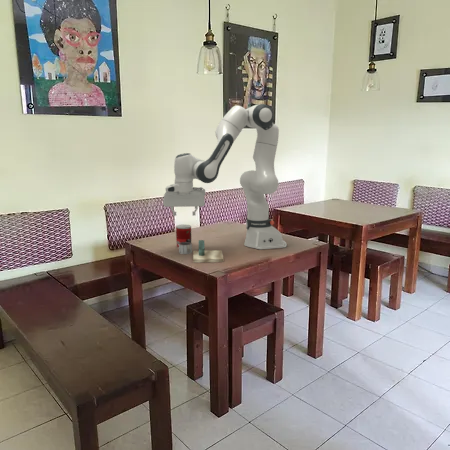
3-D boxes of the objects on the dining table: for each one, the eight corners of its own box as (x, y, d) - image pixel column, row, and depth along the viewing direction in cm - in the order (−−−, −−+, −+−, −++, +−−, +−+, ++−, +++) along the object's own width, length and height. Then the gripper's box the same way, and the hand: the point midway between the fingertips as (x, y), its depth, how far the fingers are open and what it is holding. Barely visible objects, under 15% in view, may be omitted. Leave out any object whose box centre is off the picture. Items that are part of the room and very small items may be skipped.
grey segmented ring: (191, 250, 212) (191, 241, 211) (191, 253, 206) (191, 245, 205) (179, 250, 212) (179, 242, 211) (178, 254, 206) (178, 245, 205)
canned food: (189, 248, 215) (188, 228, 213) (174, 247, 217) (173, 227, 214) (193, 244, 222) (192, 224, 220) (179, 244, 224) (178, 224, 222)
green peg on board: (221, 253, 207) (221, 236, 205) (223, 261, 194) (223, 244, 192) (193, 253, 206) (193, 237, 204) (193, 262, 193) (192, 244, 191)
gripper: (205, 186, 205) (205, 213, 208) (163, 186, 204) (164, 214, 207) (205, 188, 199) (205, 216, 202) (162, 188, 198) (163, 216, 201)
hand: (184, 215), depth 205 cm, fingers open, 8 cm apart
